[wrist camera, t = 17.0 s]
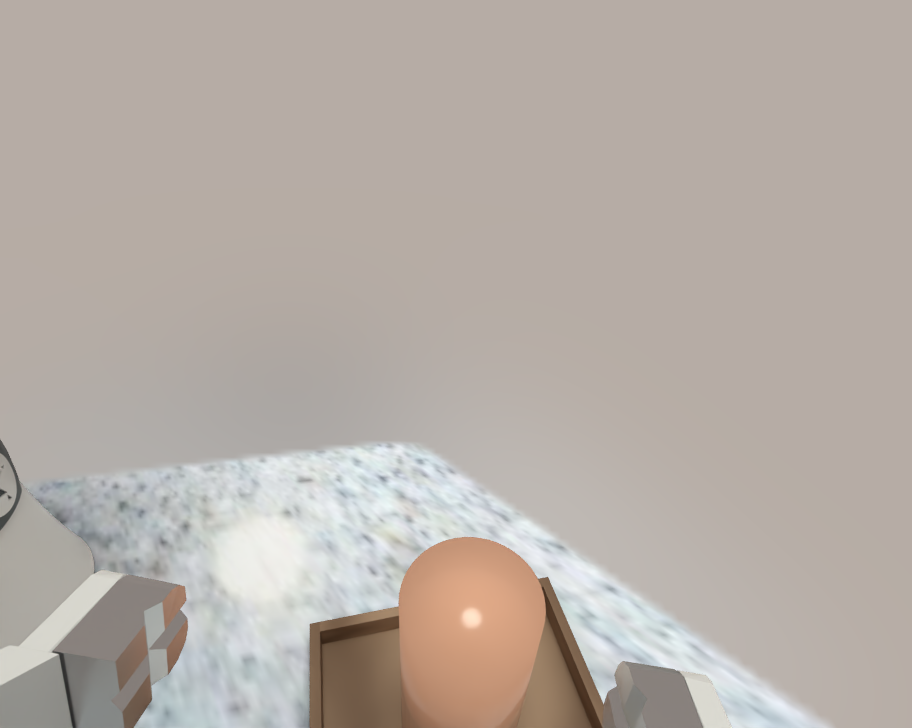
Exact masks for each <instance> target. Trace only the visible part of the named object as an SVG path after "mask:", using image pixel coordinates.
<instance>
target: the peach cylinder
mask: <svg viewBox="0 0 912 728" xmlns="http://www.w3.org/2000/svg"><path fill="white" fill-rule="evenodd" d="M545 616H546V606H545V599H544V594H543V591H542V588H541V585H540V583H539V581H538V579H537V577H536V575H535V574H534V572H533V570H532V569H531V568H530V567H529V565H528V564H527V563H526V562H525V561H524V560H523V559H522V558H521V557H520V556H519V555H517V554H516V553H515V552H513V551H512V550H510V549H509V548H507V547H505V546H503V545H501V544H499V543H496V542H494V541H491V540H487V539H482V538H475V537H462V538H454V539H450V540H446V541H443V542H440V543H438V544H436V545H434V546H432V547H430V548H429V549H427V550H426V551H424V552H423V553H422V554H421V555H420V556H419V557H418V558H417V559H416V560H415V561H414V562H413V563H412V565H411V566H410V568H409V569H408V571H407V573H406V574H405V576H404V579H403V582H402V584H401V589H400V593H399V635H400V676H401V717H402V728H517V726H518V722H519V719H520V715H521V711H522V707H523V704H524V700H525V696H526V692H527V688H528V685H529V681H530V677H531V673H532V670H533V666H534V662H535V658H536V655H537V651H538V647H539V643H540V640H541V636H542V632H543V628H544V624H545Z"/></svg>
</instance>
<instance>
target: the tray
mask: <svg viewBox="0 0 912 728" xmlns="http://www.w3.org/2000/svg"><path fill="white" fill-rule="evenodd" d="M538 581H539V583H540V585H541V588H542V591H543V594H544V599H545V606H546V616H545V624H544V628H543V632H542V636H541V640H540V643H539V647H538V651H537V655H536V658H535V662H534V666H533V670H532V673H531V677H530V681H529V685H528V688H527V692H526V696H525V700H524V704H523V707H522V711H521V715H520V719H519V722H518V726H517V728H603V724H602V720H603V707H604V705H603V702H602V700H601V698H600V695H599V693H598V691H597V689H596V686H595V684H594V682H593V679H592V677H591V675H590V672H589V670H588V668H587V666H586V663H585V661H584V659H583V656H582V654H581V652H580V649H579V647H578V645H577V643H576V640H575V638H574V636H573V633H572V631H571V629H570V626H569V624H568V622H567V620H566V617H565V615H564V613H563V610H562V608H561V606H560V604H559V601H558V599H557V597H556V594H555V592H554V590H553V587H552V585H551V583H550V581H549V578H548V577H546V578H541V579H538ZM310 728H402V717H401V676H400V635H399V607H394V608H388V609H383V610H378V611H373V612H368V613H363V614H358V615H353V616H348V617H343V618H338V619H333V620H328V621H323V622H317V623H312V624H310Z"/></svg>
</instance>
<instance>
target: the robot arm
mask: <svg viewBox="0 0 912 728" xmlns="http://www.w3.org/2000/svg"><path fill="white" fill-rule="evenodd" d="M185 601H186V593H185V587H184V586H181V585H177V584H172V583H167V582H162V581H157V580H152V579H148V578H143V577H138V576H133V575H127V574H122V573H116V572H111V571H106V570H100V571H98V572H96V573H94V559H93V555H92V552H91V550H90V548H89V546H88V545H87V544H86V542H85V541H84V540H83V539H82V538H80V537H79V536H78V535H76V534H75V533H73V532H72V531H71V530H69V529H68V528H67V527H65V526H64V525H63V524H62V523H60V522H59V521H58V520H57V519H56V518H55V517H53V516H52V515H51V514H50V513H49V512H48V511H47V510H46V509H45V508H44V507H43V506H42V505H41V504H40V503H39V502H38V501H37V500H36V499H35V498H34V496H33V495H32V494H31V493H30V492H29V491H28V490H27V489H26V488H25V487H24V485H23V484H22V483H21V482H20V481H19V478H18V475H17V473H16V470H15V468H14V465H13V463H12V461H11V458H10V456H9V454H8V452H7V450H6V448H5V446H4V445H3V443H2V441H1V440H0V728H134V726H135V724H136V723H137V721H138V720H139V718H140V717H141V715H142V714H143V712H144V711H145V709H146V708H147V706H148V705H149V703H150V702H151V700H152V688H151V685H153V684H155V683H156V682H158V681H159V680H161V679H162V678H164V677H165V676H167V675H168V674H169V673H170V671H171V669H172V668H173V666H174V665H175V663H176V662H177V660H178V658H179V656H180V653H181V651H182V648H183V646H184V643H185V641H186V635H187V630H188V623H187V617H186V616H185V615H184V614H183V612H182V611H181V610H180V608H181V607H182V606H183V604H184V603H185ZM615 679H616V684H617V687H615V688H613V689H612V690H610V691H609V692H608V693H607V696H606V699H605V702H604V707H603V720H602V724H603V728H732V726H731V724H730V722H729V720H728V717H727V715H726V713H725V711H724V708H723V706H722V704H721V702H720V699H719V697H718V695H717V693H716V691H715V688H714V686H713V684H712V682H711V680H710V679H709V678H708V677H707V676H706V675H701V674H696V673H690V672H684V671H676V670H674V669H669V668H663V667H657V666H650V665H644V664H638V663H631V662H625V661H623V662H621V663H620V664H619V665H618V667H617V670H616V672H615Z"/></svg>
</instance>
